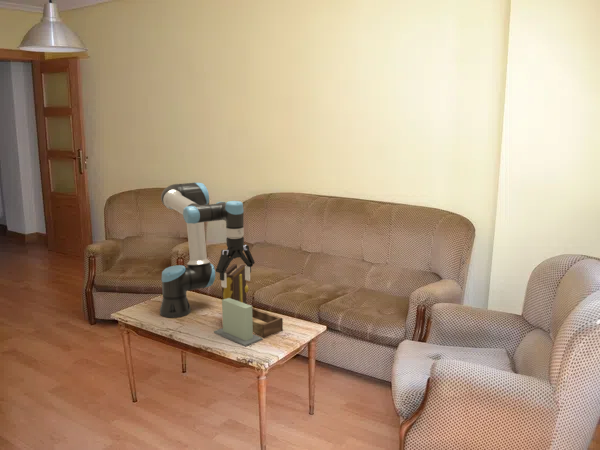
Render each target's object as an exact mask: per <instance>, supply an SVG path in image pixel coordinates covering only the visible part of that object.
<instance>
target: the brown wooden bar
mask: <svg viewBox="0 0 600 450" xmlns="http://www.w3.org/2000/svg"><path fill="white" fill-rule="evenodd" d="M252 319H253V334H254V335H257V336H259V337H263V324H265V323H267V322H264V321H261V320H259V319H256V318H253V317H252Z"/></svg>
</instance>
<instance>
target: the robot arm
mask: <svg viewBox="0 0 600 450" xmlns="http://www.w3.org/2000/svg"><path fill="white" fill-rule="evenodd" d="M160 200H161V203H162V205H163V206H165V208H167V209H169V210H175V211H176V212H178V213H179V214H181V215H182V216H183V219H184V222H185V223H186V229H187V231H186V232H187V241H188V243H187V244H188V251H189V253H188V254H189V260H188V262H187V263H186V264H187V267H186V266H185V265H182V264H179V265H178V264H177V265H172V266H168V267H165V268H164V269H163V270H162V271H161V287H162V288H161V290H162V301H161V305H160V307H159V313H160V314H159V315H160V316H161V317H165V318H170V319H171V318H172V319H173V318H182V317H184V316H185V317H186V316H187V315H190V313H191V305H190V303H189V299H188V297H187V292H188V291H193V290H194V291H195V290H198V289H205V288H209V287H212V286H213V284H214V282H215V280H216V273H218V274H219V280H220V282H221V283H220V285H221V288H222V287H224V288H227V281H226V273H225V271H226V270H227V269H228V268H229V267H230V266H229V265H230V264H231V262H232V261H234V259H236V258H240V260H242V262H243V263H244V265H246V266H245V280H246V281H248V282H250V281H251V272H252V267H253V265H255V260H254V257H253V256H252V255H253V254H251V251H250V246H249V244H248V245H247V244H245V238H244V236H245V234H244V233H245V232H244V230H245V229H244V226H245V225H244V224H245V223H244V220H245V219H244V215H245V214H244V212H245V211H244V210H245V209H244V203H243V202H242V201H240V200H239V201H238V200H230V201H227V202H226V201H218V202H216V203H212V204H211V203H210V193H209V191H208V188H207V187H206V185H205V184H204V183H203V182H188V183H187V182H183V183H173V184H170V185H168V186H167V187H165V188H164V189H163V190H162V192H161V195H160ZM209 203H210V204H209ZM217 221H225V225H226V226H225V228H226V229H225V230H226V231H225V234H226V235H225V236H226V247H227V249H222V250H221V251H220V257H219V259H218V263H217V266H216V269H215V266H214V264H213V263H211V261H210V260H209V259H208V256H207V245H206V233H205V223H208V222H217Z"/></svg>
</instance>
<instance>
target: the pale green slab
mask: <svg viewBox="0 0 600 450" xmlns="http://www.w3.org/2000/svg"><path fill="white" fill-rule="evenodd" d="M252 308H253V305H251V304H247V303H246V304H245V303H242V302H239V301H237V300H234V299H231V298H226V299H223V300H222V299H221V309H222V310H221V312H222V328H223V331H224V332H226V333H229V334H231V335H233V336H236V337H238V338H240V339H243V340H245V341H247V340H249V339H252V338H253V334H254V333H253V319H252Z"/></svg>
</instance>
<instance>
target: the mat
mask: <svg viewBox="0 0 600 450" xmlns="http://www.w3.org/2000/svg"><path fill="white" fill-rule="evenodd" d="M213 333H214V334H216V335H218V336H220V337H223V338H225V339H227V340H229V341H232V342H234V343H236V344H238V345H240V346H243V347H248V346H250V345H252V344H255V343H257V342H260V341H262V340H263V337H262V336H260V335H257V334H255V333H253V338H252V339H249V340H247V341H245V340H243V339H240V338H238V337H236V336H233V335H231V334H229V333H226V332H224V331H223V327H222V328H219V329H216V330H213Z"/></svg>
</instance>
